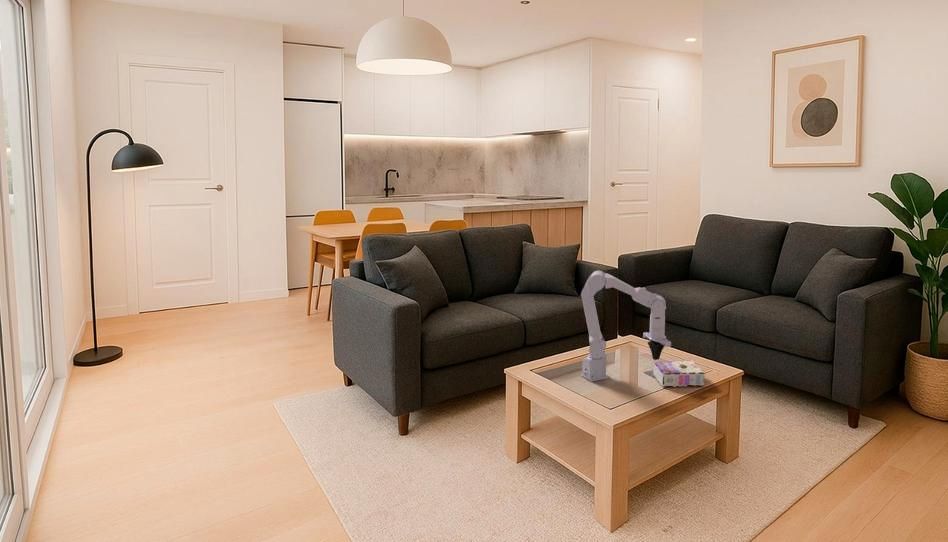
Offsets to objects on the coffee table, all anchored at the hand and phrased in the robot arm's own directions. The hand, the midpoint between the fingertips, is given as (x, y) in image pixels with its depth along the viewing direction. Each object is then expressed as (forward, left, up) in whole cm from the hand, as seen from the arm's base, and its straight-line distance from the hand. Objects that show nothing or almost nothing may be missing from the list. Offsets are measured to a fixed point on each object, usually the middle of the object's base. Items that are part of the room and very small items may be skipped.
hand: (656, 359), depth 242 cm
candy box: (0, -1, -6) cm, 6 cm away
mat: (+10, +1, -9) cm, 14 cm away
